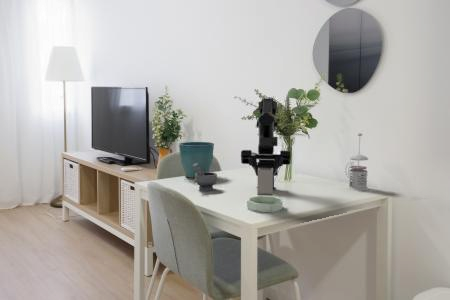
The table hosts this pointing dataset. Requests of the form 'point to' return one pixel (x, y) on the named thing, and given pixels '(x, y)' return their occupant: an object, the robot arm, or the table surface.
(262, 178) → the tumbler
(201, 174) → the mortar and pestle
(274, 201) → the dish
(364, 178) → the french press
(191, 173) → the flower pot
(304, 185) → the table surface
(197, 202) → the table surface
